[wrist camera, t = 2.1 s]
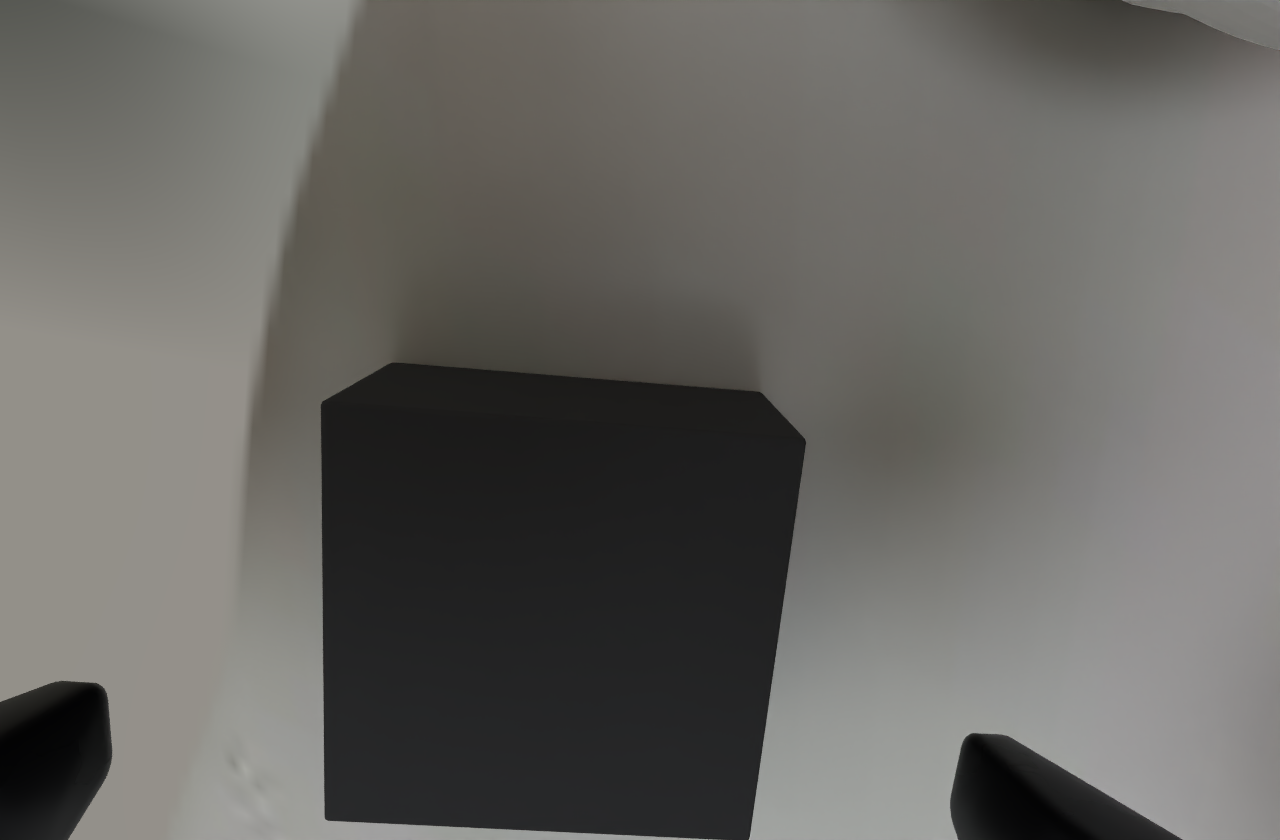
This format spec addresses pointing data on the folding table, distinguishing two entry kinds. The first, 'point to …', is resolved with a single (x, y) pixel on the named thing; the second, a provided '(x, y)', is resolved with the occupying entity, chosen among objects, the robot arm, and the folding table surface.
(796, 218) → the folding table surface
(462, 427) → the black block
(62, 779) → the robot arm
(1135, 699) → the folding table surface
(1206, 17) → the vase
